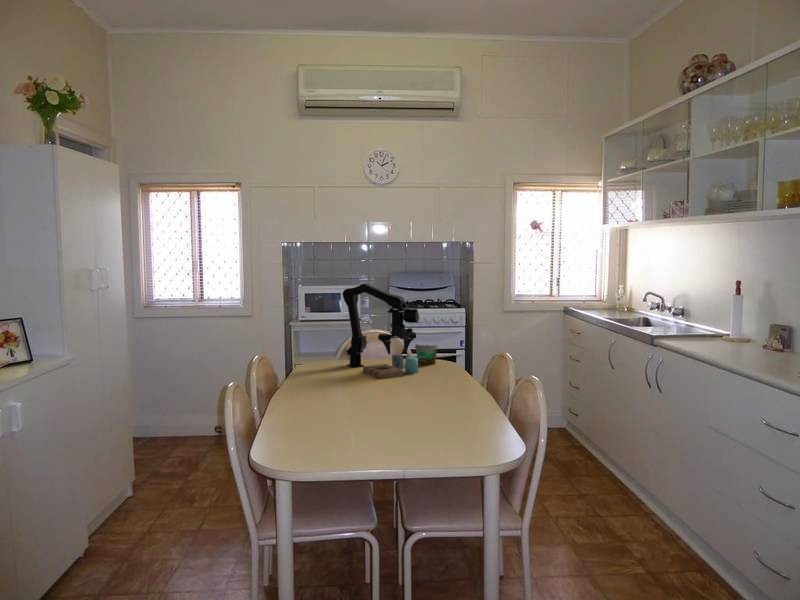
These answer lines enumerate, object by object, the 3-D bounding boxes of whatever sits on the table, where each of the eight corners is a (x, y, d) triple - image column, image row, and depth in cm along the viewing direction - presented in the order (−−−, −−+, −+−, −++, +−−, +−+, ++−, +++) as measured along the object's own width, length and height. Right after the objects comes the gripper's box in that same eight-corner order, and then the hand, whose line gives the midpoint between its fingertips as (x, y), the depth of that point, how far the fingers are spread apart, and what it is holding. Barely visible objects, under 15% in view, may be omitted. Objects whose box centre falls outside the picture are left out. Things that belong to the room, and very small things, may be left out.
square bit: (392, 368, 279) (392, 354, 278) (399, 367, 281) (399, 354, 280) (396, 370, 275) (396, 356, 275) (403, 369, 277) (403, 355, 277)
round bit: (403, 372, 272) (403, 357, 271) (413, 370, 275) (413, 356, 274) (409, 374, 266) (409, 359, 266) (420, 373, 269) (420, 358, 269)
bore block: (363, 371, 273) (363, 366, 273) (384, 368, 279) (384, 363, 279) (380, 378, 258) (380, 373, 257) (403, 375, 264) (403, 370, 263)
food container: (412, 364, 289) (412, 345, 288) (415, 362, 294) (415, 343, 293) (435, 366, 285) (435, 346, 284) (438, 363, 291) (438, 344, 290)
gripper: (388, 325, 264) (388, 358, 266) (422, 322, 274) (422, 354, 275) (377, 322, 274) (377, 354, 275) (410, 320, 283) (410, 350, 285)
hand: (397, 353), depth 277 cm, fingers open, 9 cm apart
